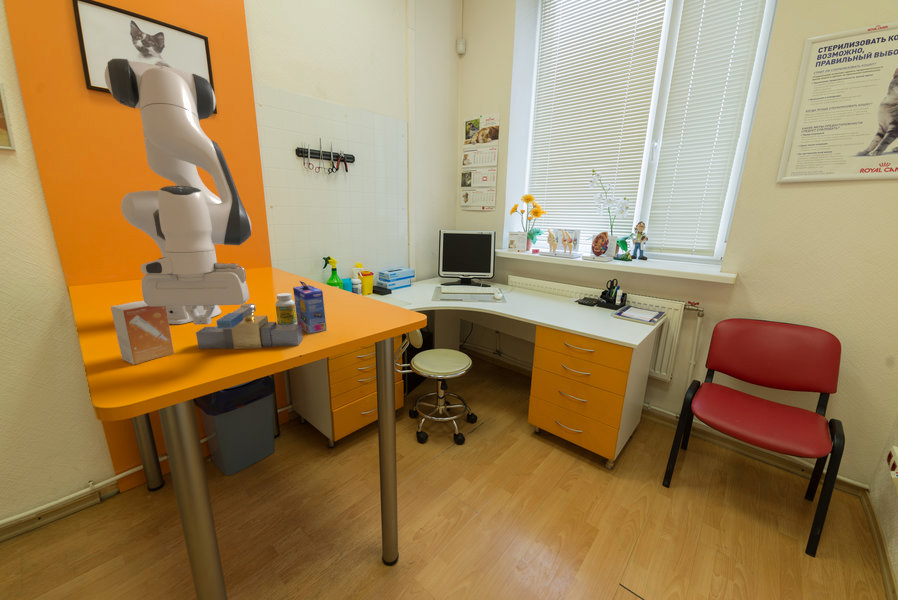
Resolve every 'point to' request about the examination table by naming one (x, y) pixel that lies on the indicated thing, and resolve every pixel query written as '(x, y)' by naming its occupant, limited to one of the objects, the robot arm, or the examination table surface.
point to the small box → (142, 331)
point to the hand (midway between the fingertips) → (203, 323)
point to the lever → (235, 316)
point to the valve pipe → (250, 335)
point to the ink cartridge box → (310, 308)
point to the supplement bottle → (285, 309)
